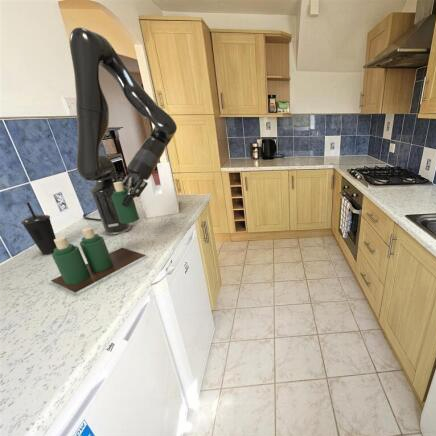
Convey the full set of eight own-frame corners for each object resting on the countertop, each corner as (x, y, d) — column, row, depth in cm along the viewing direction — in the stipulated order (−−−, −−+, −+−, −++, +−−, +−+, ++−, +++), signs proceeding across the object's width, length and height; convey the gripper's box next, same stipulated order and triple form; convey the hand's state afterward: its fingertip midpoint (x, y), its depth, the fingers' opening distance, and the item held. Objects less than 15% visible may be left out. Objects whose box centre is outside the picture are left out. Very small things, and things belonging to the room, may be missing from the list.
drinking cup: (68, 248, 96) (47, 200, 88) (45, 258, 89) (20, 207, 81) (56, 245, 98) (34, 198, 90) (32, 254, 91) (6, 205, 83)
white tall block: (179, 212, 128) (168, 165, 118) (146, 218, 122) (132, 168, 112) (178, 202, 144) (169, 159, 134) (149, 206, 138) (137, 162, 129)
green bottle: (116, 222, 87) (103, 184, 82) (132, 216, 92) (121, 179, 86) (126, 224, 85) (114, 185, 79) (142, 218, 90) (132, 181, 84)
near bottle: (61, 281, 74) (41, 241, 69) (83, 271, 79) (66, 232, 73) (71, 286, 72) (52, 245, 66) (94, 275, 77) (77, 236, 71)
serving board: (51, 283, 75) (50, 280, 75) (122, 249, 93) (121, 247, 93) (76, 295, 70) (75, 292, 69) (146, 257, 88) (146, 255, 87)
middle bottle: (86, 269, 80) (70, 231, 74) (106, 260, 85) (92, 223, 79) (97, 273, 78) (81, 234, 72) (116, 264, 82) (102, 226, 77)
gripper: (123, 156, 89) (97, 196, 85) (145, 159, 82) (119, 202, 78) (141, 168, 96) (118, 205, 91) (163, 171, 89) (140, 212, 84)
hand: (119, 204), depth 84 cm, fingers closed on green bottle, 6 cm apart
